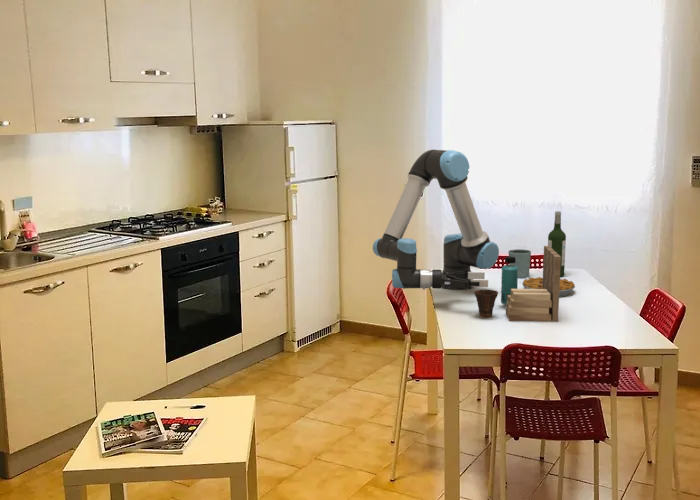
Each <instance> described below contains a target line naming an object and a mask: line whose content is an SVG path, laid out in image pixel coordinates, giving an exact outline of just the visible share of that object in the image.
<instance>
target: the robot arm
mask: <svg viewBox="0 0 700 500" xmlns="http://www.w3.org/2000/svg"><path fill="white" fill-rule="evenodd" d="M469 170H470V163H469V160H468V158H467V156H466V155H465V154H464V153H462V152H460V151H457V150H453V149H448V150H446V149H445V150H444V149H428V150H426V151H424V152H423V153H422V154H421V155H420V156H418V157H417V159H416V160H415V162H413V165H412V166H411V168H410V170H409V172H408V173H407V178H408V180H407V181H406V184H405V186H404V189H403V191H402V193H401V195H400V197H399V199H398V202H397V204H396V206H395V208H394V210H393V213H392V215H391V217H390V219H389V221H388V224H387V226H386V228H385V230H384V232H383V235H382V236H381V237H380V238H377V239H376V240H374V242H373V244H372V251H373V253H374V255H375V256H377V257H379V258H382V259H387V260H392V261H395V262H396V268H394V269H392V271H391V283H392V284H391V286H392V288H394V289H403V290H405V289H422V290H423V291H425V290H426V289H431V288H432V289H434V290H435V289H436V290H437V289H438V290H441V289H446V290H447V289H448V290H471V289H472V288H488V287H489V279H485V278H486V277H485V276H486V275H485V272H484V271H472V270H471V267H473V268H477V269H484V270H487V269H491V268H492V267H494V266H495V264H496V263H497V262H498V261H497V260H498V258H499V255H500V249H499V246H498V245H497V243H495V242H494V241H491V240H490V237H489V234H488V232H486V231H484V230H483V228H482V226H481V224H480V219H479V217H478V214H477V211H476V208H475V207H474V202H473V200H472V197H471V195H470V191H469V189H468V185H467V184H466V183H467V181H468V175H469V173H470V171H469ZM433 179H434V180H437V183H438V185H439V188H440V189H442V190H444V191H445V193H446V196H447V199H448V202H449V204H450V207H451V209H452V213H453V215H454V218H455V221H456V223H457V225H458V228H459V231H460V233H453V234H452V233H451V234H447V235H445V236H444V238H443V269H435V268H434V269H432V270H431V268H426V269H425V268H422V269H421V268H420V269H419V268H418V269H417V251H418V249H417V240H415V239H414V238H406V237H405V238H403V237H404V235H405V233H406V230H407V228H408V226H409V223H411V219H412V217H413V214H414V213H415V211H416V208H417V207H418V204H419V201H420V200H421V197H422V195H423V193H424V191H425V189H426V188H427V187H429V186H430V183H431V182H432V180H433Z"/></svg>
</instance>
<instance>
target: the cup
mask: <svg viewBox="0 0 700 500" xmlns="http://www.w3.org/2000/svg"><path fill="white" fill-rule="evenodd" d="M473 294H474V297H475V298H476V302H477V306H478V309H477V310H478V315H479V317H480V318H492V317H493V311H494V306H495V303H496V299H497V298H498V295H499V292H498V290H494V289H486V288H485V289H483V288H482V289H478V290H474V291H473Z"/></svg>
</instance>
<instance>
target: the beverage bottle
mask: <svg viewBox="0 0 700 500" xmlns="http://www.w3.org/2000/svg"><path fill="white" fill-rule="evenodd" d="M504 263H506V264H504V265H503V266H502V267H501V280H500V281H501V287H500V290H501V291H500V303H501V304H502V305H505V306H506V305H507V295H511V289H519V288H518V281H519V278H518V268H517V267H516V266H515V265H509V263H516V261H515V257H509V256H505V257H504Z"/></svg>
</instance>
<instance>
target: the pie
mask: <svg viewBox="0 0 700 500" xmlns="http://www.w3.org/2000/svg"><path fill="white" fill-rule="evenodd" d="M542 284H543V277H541V276H540V277H539V276H537V277H535V278H534V277H528V278H524V280H523V282H522V283H521V285H522V287H524V288H523V289H542ZM575 288H576V286H575V283H574V282H573V281H572V280H570V281H569V280H568V279H566V278H563V279H562V278H560V288H559V298H563V297H567V296H570V295H571V294H572V291H574V289H575Z"/></svg>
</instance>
